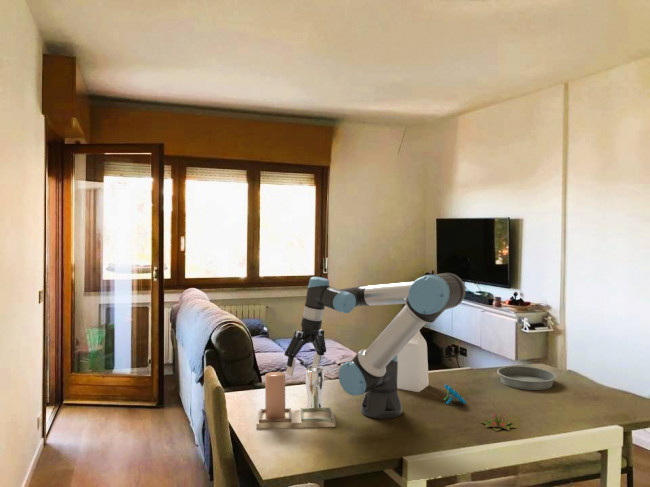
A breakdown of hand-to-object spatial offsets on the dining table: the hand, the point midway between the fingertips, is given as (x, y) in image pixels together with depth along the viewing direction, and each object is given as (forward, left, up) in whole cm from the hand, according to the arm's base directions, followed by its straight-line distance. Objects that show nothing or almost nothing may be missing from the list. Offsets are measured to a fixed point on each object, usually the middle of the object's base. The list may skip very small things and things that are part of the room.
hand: (302, 372), depth 205 cm
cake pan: (-72, -74, -14) cm, 104 cm away
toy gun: (-50, -31, -14) cm, 61 cm away
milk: (-28, -46, -14) cm, 55 cm away
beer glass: (-5, -2, -14) cm, 15 cm away
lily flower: (-69, -15, -14) cm, 72 cm away
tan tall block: (+2, +16, -12) cm, 20 cm away
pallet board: (-4, +12, -14) cm, 19 cm away
